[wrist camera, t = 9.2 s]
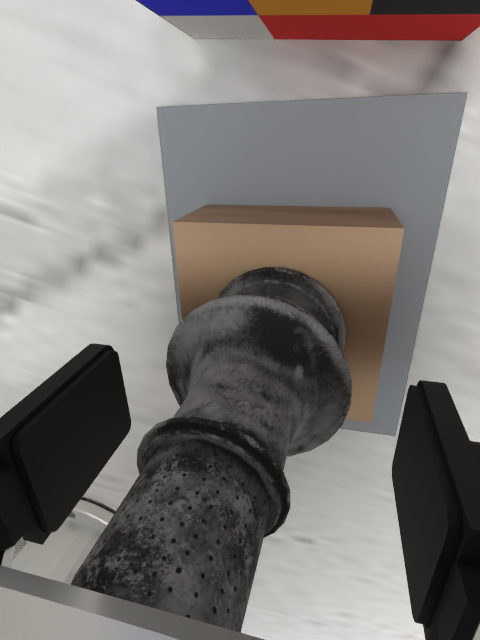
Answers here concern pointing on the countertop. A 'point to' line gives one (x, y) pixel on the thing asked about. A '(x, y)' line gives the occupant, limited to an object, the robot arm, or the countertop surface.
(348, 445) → the countertop surface
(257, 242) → the base block
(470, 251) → the countertop surface
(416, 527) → the robot arm
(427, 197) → the slate mat
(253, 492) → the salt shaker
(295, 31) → the puzzle toy
